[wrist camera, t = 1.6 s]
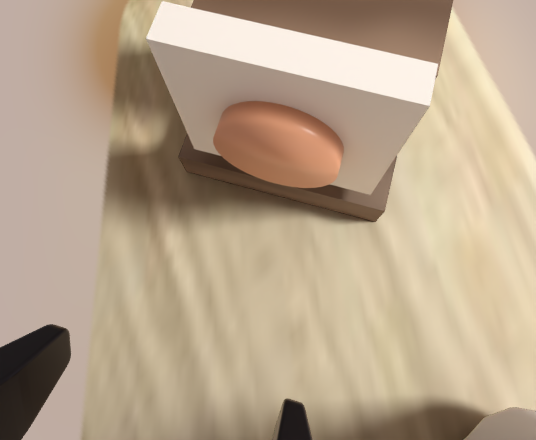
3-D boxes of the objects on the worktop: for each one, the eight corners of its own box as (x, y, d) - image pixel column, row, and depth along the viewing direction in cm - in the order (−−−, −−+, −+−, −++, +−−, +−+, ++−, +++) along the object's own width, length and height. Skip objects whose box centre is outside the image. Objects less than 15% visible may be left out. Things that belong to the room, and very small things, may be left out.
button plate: (365, 214, 20) (423, 135, 12) (187, 166, 21) (134, 64, 13) (377, 167, 20) (438, 63, 13) (203, 123, 21) (162, 0, 13)
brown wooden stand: (375, 221, 23) (417, 173, 16) (186, 171, 24) (150, 105, 17) (405, 90, 25) (453, -1, 18) (231, 49, 26) (215, -52, 19)
